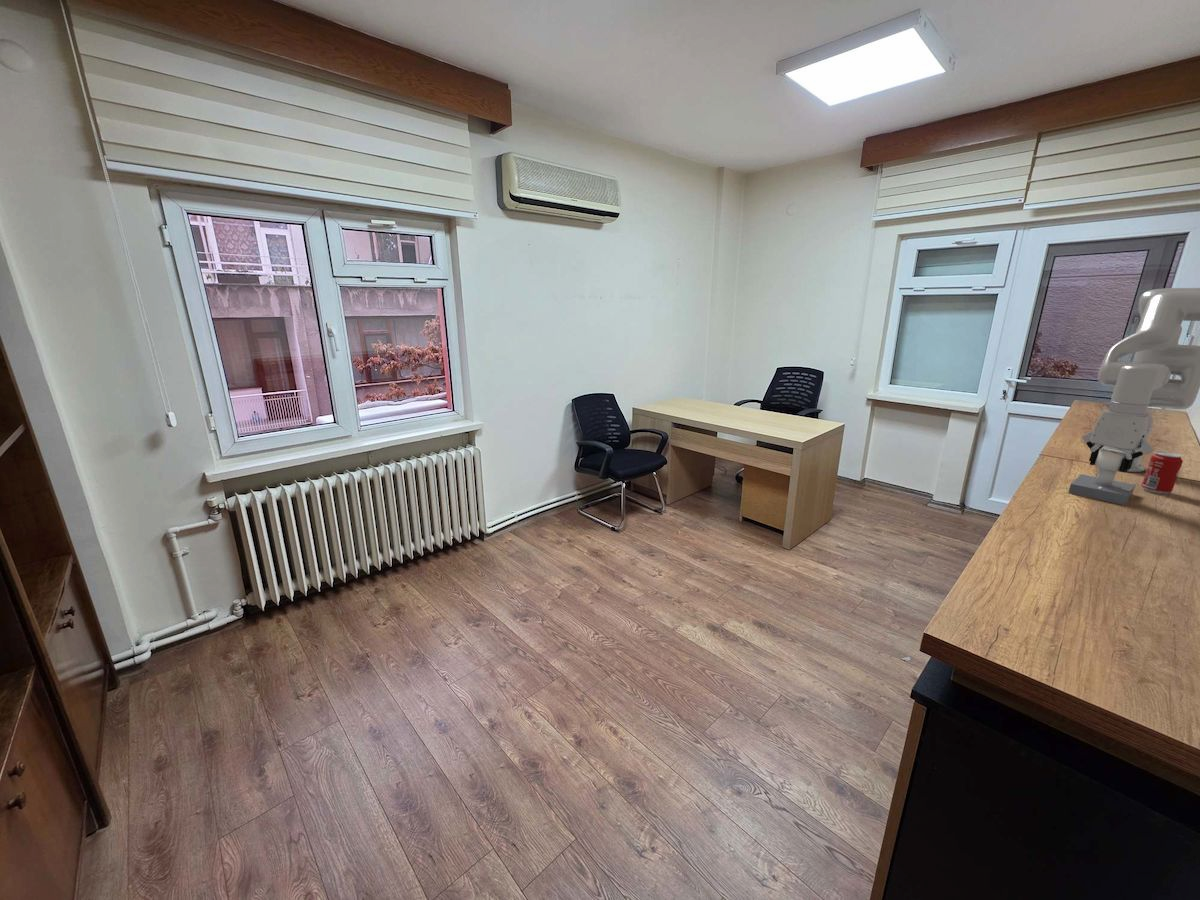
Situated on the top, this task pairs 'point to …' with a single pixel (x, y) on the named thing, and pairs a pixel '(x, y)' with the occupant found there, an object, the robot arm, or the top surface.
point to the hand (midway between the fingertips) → (1108, 467)
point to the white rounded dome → (1109, 459)
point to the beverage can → (1162, 472)
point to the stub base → (1102, 487)
